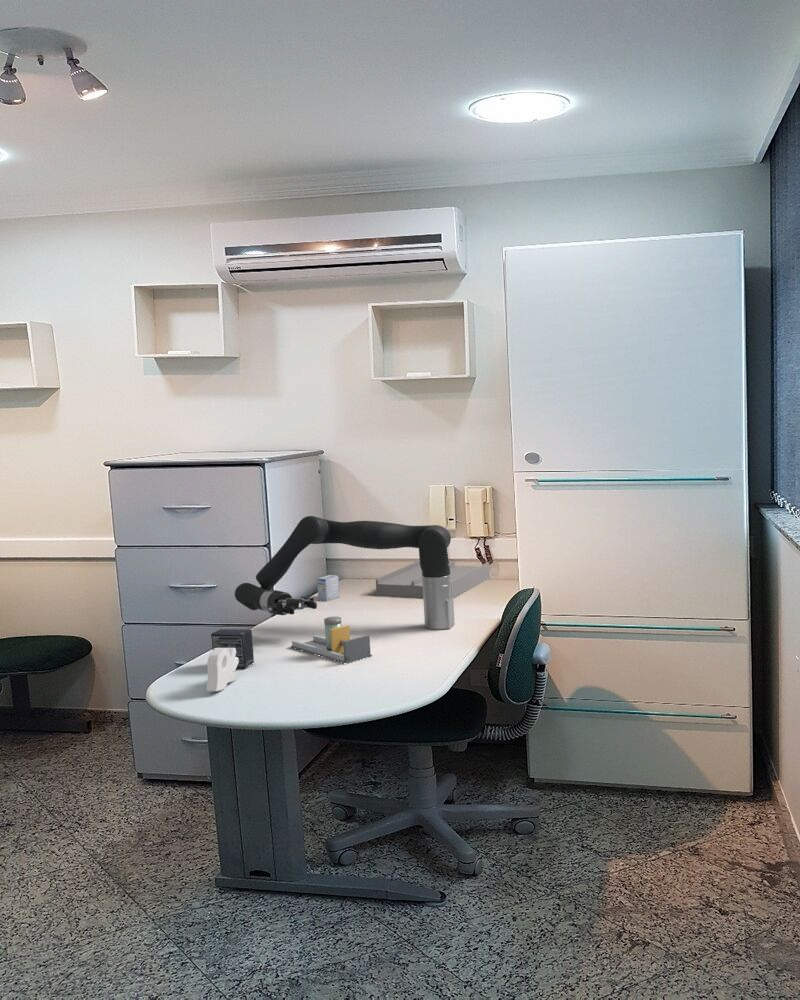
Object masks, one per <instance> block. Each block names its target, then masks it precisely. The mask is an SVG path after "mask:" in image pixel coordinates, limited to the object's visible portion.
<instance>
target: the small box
mask: <svg viewBox="0 0 800 1000" xmlns="http://www.w3.org/2000/svg"><path fill="white" fill-rule="evenodd" d="M252 631H253V629H252V628H251V629H243V628H242V629H237V628H236V629H235V628H234V629H232V628H231V629H230V628H229V629H227V628H225V629H224V628H222V629H221V628H220V629H218V630H216V631H213V632H212V633H210V637H211V645H212V646H211V647H212V651H213V650H214V648H235V649H236V655H235V657H238V659H239V663H238V665H237V668H246V669H248V668H249V667H250V666H249V665H251V664H252V663H254V664H255V657H254V656H255V655H254V647H253V646H254V645H253V632H252ZM252 665H253V664H252ZM252 665H251V666H252ZM248 666H249V667H248ZM247 667H248V668H247Z"/></svg>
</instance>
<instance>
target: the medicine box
mask: <svg viewBox="0 0 800 1000" xmlns="http://www.w3.org/2000/svg"><path fill="white" fill-rule="evenodd" d="M316 581H317V582H316V583H317V597H318V598H317V599H318V601H321V602H329V601H331V600H335V599H338V598H340V583H339V575H334V574H328V575H325V576H321V577H318V578H317V579H316Z"/></svg>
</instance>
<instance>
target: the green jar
mask: <svg viewBox="0 0 800 1000" xmlns="http://www.w3.org/2000/svg"><path fill="white" fill-rule="evenodd" d="M342 621H343V620H342V617H341V616H328V617H325V618H323V622H324V634H325V638H326V650H329V651H332V649H331V633H330V629H334V628H338V627H342Z"/></svg>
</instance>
